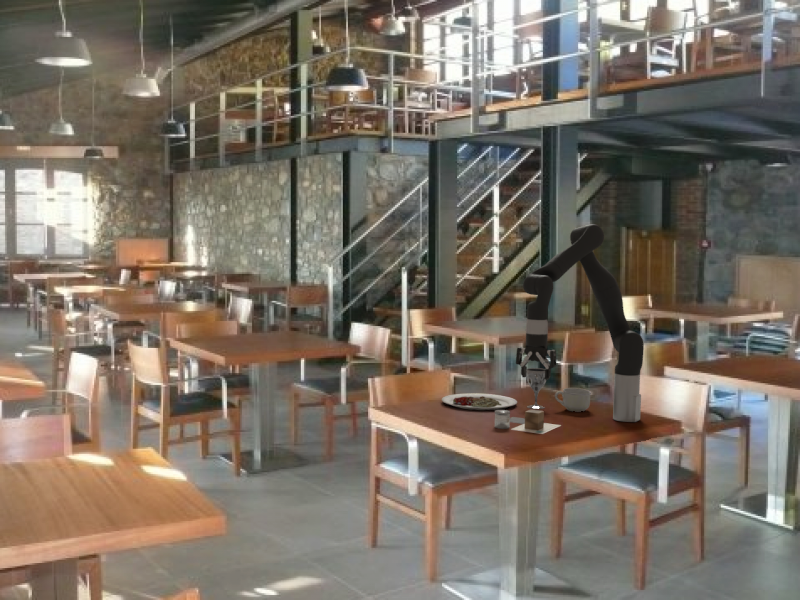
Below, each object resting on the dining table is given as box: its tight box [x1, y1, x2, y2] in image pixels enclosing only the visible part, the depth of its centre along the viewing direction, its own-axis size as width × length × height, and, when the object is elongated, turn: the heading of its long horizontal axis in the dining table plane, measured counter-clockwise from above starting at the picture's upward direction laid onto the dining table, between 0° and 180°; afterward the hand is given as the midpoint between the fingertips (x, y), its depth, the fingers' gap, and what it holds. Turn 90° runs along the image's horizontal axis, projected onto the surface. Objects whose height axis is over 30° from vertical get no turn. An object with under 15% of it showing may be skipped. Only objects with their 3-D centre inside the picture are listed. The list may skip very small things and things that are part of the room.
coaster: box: [510, 416, 525, 425], centre depth 332 cm, size 9×9×1 cm
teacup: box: [554, 387, 592, 413], centre depth 355 cm, size 14×11×8 cm
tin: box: [494, 409, 511, 430], centre depth 320 cm, size 5×5×6 cm
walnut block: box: [524, 408, 545, 430], centre depth 319 cm, size 5×5×6 cm
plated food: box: [441, 392, 518, 411], centre depth 364 cm, size 30×30×3 cm
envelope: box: [510, 422, 562, 435], centre depth 321 cm, size 12×17×1 cm
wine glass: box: [526, 367, 547, 410], centre depth 359 cm, size 8×8×15 cm
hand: (535, 378), depth 318 cm, fingers open, 8 cm apart
